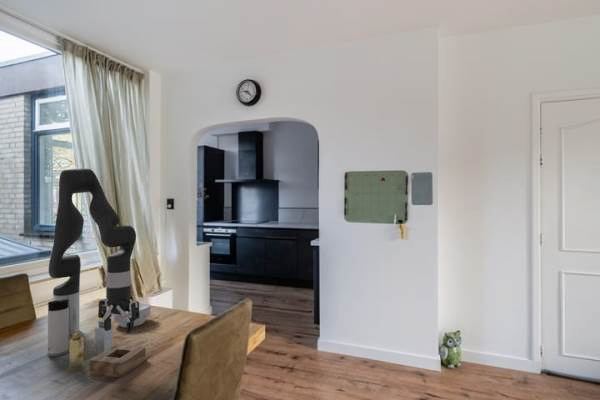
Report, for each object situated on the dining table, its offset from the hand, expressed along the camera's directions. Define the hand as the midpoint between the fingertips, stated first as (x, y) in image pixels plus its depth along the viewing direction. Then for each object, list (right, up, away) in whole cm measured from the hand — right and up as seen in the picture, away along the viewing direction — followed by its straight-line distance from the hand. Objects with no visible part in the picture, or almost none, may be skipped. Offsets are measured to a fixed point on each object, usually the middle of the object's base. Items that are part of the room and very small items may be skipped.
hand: (118, 331), depth 114 cm
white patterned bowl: (-15, -12, +39) cm, 43 cm away
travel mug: (-28, -12, +10) cm, 32 cm away
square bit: (-11, -12, +10) cm, 20 cm away
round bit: (-14, -12, -1) cm, 18 cm away
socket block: (0, -12, 0) cm, 12 cm away
